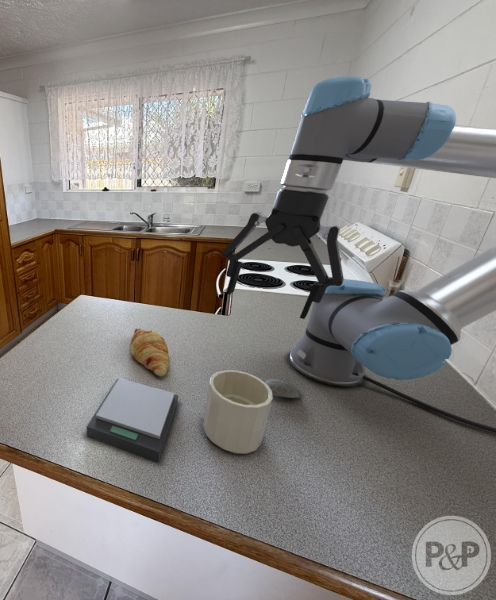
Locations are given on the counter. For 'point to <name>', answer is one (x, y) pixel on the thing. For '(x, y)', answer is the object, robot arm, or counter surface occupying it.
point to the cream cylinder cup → (237, 410)
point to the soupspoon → (281, 388)
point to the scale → (134, 418)
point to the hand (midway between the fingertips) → (264, 303)
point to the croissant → (150, 351)
